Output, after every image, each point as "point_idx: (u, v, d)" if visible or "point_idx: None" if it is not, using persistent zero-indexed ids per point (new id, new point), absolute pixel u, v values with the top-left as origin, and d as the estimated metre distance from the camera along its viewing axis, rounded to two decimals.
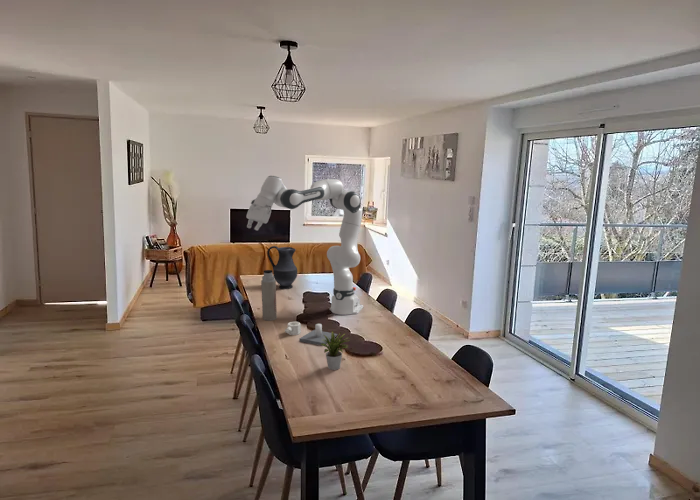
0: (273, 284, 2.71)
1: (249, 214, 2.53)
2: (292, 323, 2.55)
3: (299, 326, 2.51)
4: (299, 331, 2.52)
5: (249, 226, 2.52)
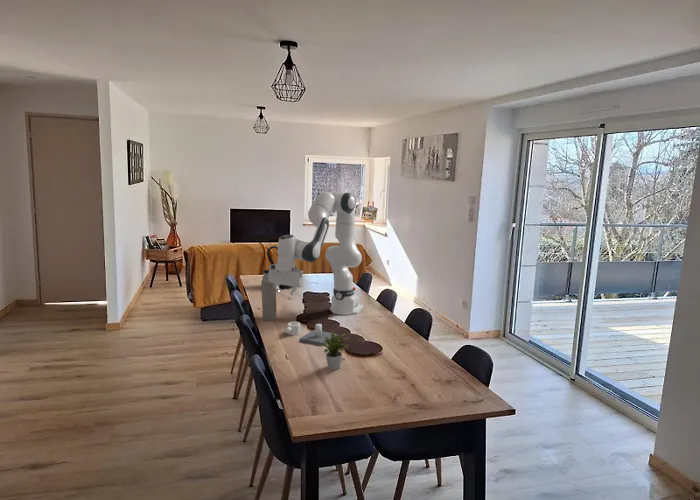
0: (273, 284, 2.71)
1: (273, 279, 2.49)
2: (292, 323, 2.55)
3: (299, 326, 2.51)
4: (299, 331, 2.52)
5: (279, 290, 2.50)
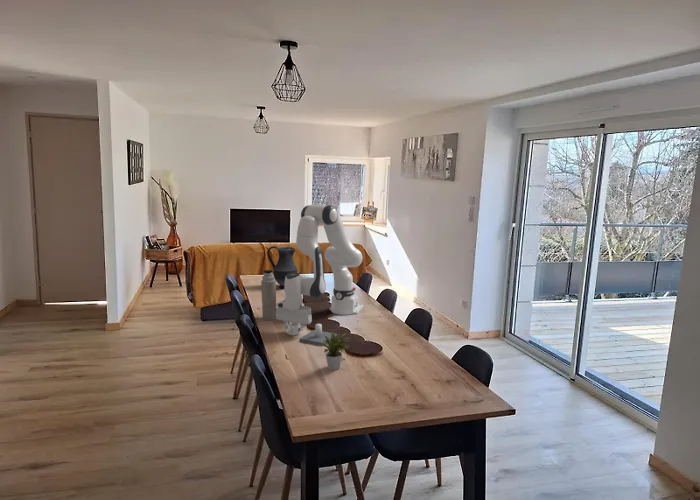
0: (273, 284, 2.71)
1: (281, 317, 2.53)
2: (292, 323, 2.55)
3: (299, 326, 2.51)
4: (299, 331, 2.52)
5: None
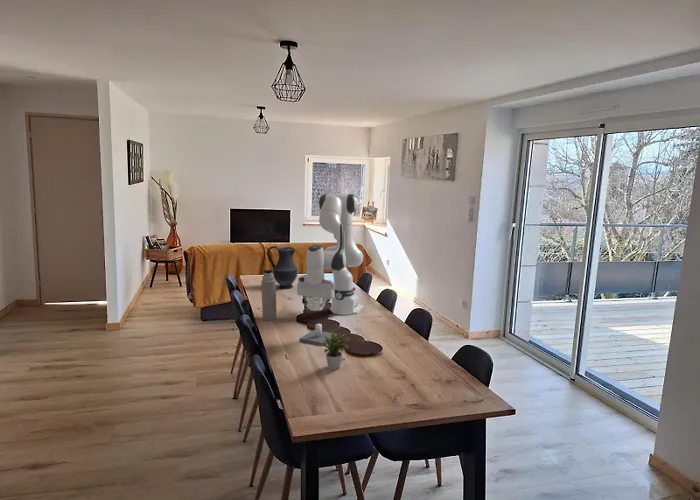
0: (273, 284, 2.71)
1: (302, 292, 2.42)
2: (313, 299, 2.44)
3: (321, 301, 2.40)
4: (321, 307, 2.41)
5: None
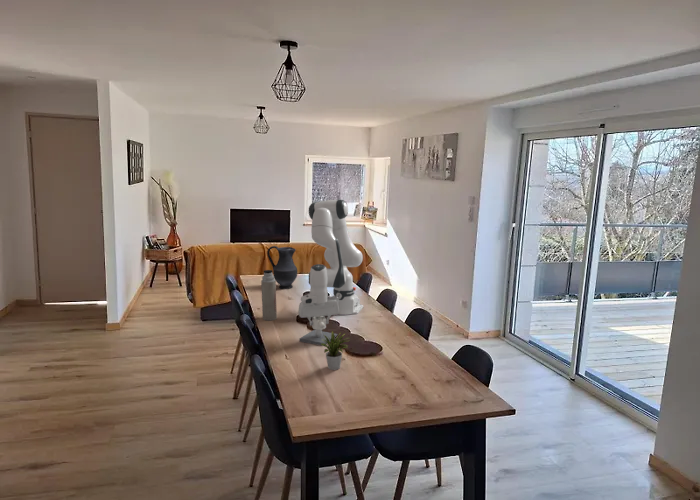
0: (273, 284, 2.71)
1: (307, 313, 2.38)
2: (314, 318, 2.43)
3: None
4: None
5: None
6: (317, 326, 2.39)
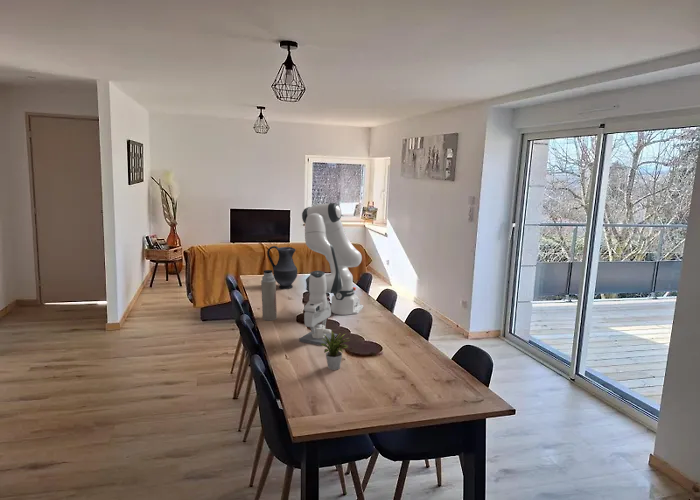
0: (273, 284, 2.71)
1: (314, 322, 2.36)
2: None
3: None
4: None
5: None
6: (322, 334, 2.41)
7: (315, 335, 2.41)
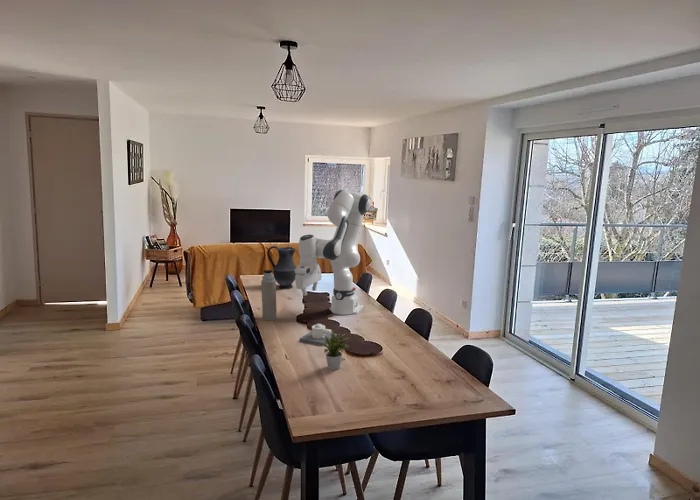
0: (273, 284, 2.71)
1: (305, 284, 2.43)
2: None
3: None
4: None
5: None
6: (322, 334, 2.41)
7: (315, 335, 2.41)
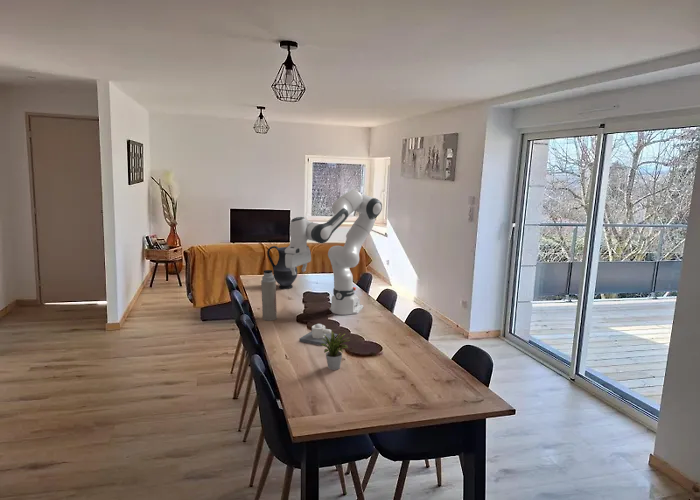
0: (273, 284, 2.71)
1: (295, 263, 2.53)
2: None
3: None
4: None
5: None
6: (322, 334, 2.41)
7: (315, 335, 2.41)
